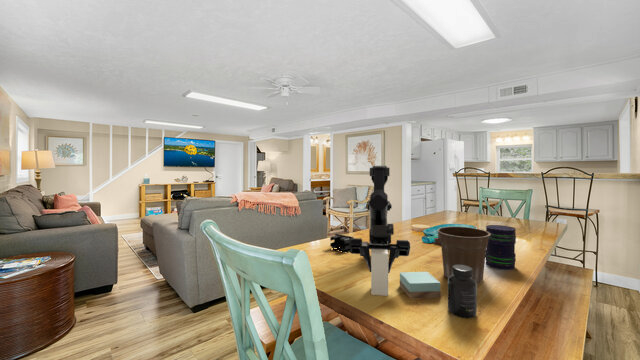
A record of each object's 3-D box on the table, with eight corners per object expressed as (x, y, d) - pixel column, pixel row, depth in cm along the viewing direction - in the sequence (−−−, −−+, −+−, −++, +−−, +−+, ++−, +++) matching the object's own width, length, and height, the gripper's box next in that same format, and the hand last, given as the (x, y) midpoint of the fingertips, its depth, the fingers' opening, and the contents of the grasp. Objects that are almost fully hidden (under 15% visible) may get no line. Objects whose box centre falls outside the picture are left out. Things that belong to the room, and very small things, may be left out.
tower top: (409, 292, 82) (409, 283, 81) (399, 280, 90) (399, 272, 90) (440, 291, 82) (440, 282, 82) (427, 279, 91) (427, 271, 91)
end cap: (355, 250, 131) (355, 235, 131) (346, 253, 126) (346, 238, 126) (339, 246, 138) (339, 232, 138) (329, 249, 133) (329, 235, 133)
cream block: (371, 294, 84) (371, 253, 84) (371, 287, 89) (371, 248, 89) (388, 295, 83) (388, 254, 83) (387, 288, 88) (387, 249, 88)
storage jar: (486, 268, 106) (486, 228, 106) (483, 260, 115) (484, 224, 115) (518, 271, 102) (518, 231, 101) (512, 263, 111) (513, 226, 110)
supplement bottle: (442, 306, 77) (442, 263, 76) (466, 305, 77) (466, 262, 77) (456, 320, 70) (457, 272, 69) (482, 318, 70) (483, 271, 70)
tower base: (410, 300, 81) (411, 292, 81) (399, 288, 90) (399, 280, 90) (440, 299, 82) (440, 291, 82) (426, 286, 91) (426, 279, 91)
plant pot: (469, 290, 86) (469, 239, 86) (427, 273, 101) (427, 229, 100) (500, 280, 94) (501, 233, 93) (457, 266, 108) (457, 224, 108)
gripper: (349, 213, 91) (347, 257, 81) (409, 214, 88) (414, 261, 77) (351, 232, 99) (349, 274, 89) (406, 234, 96) (410, 278, 85)
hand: (379, 272), depth 85 cm, fingers closed on cream block, 5 cm apart
